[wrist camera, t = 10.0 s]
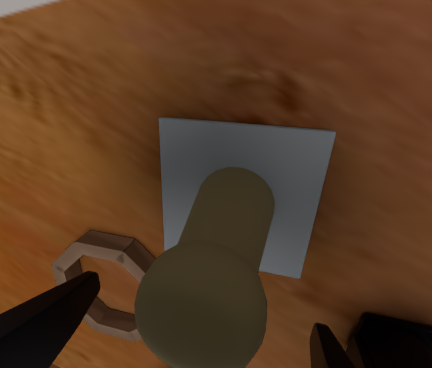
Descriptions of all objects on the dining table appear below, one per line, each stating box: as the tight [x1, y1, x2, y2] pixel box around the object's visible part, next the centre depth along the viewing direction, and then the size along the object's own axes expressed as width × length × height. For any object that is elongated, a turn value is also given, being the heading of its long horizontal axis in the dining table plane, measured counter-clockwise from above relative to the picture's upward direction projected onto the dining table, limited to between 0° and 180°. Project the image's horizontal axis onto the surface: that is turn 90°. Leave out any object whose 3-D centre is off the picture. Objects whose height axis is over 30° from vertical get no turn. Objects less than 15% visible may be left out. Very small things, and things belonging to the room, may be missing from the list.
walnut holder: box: [52, 230, 156, 342], centre depth 24 cm, size 12×12×2 cm
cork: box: [135, 167, 275, 368], centre depth 13 cm, size 6×6×11 cm
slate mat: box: [159, 117, 336, 279], centre depth 18 cm, size 12×12×1 cm
